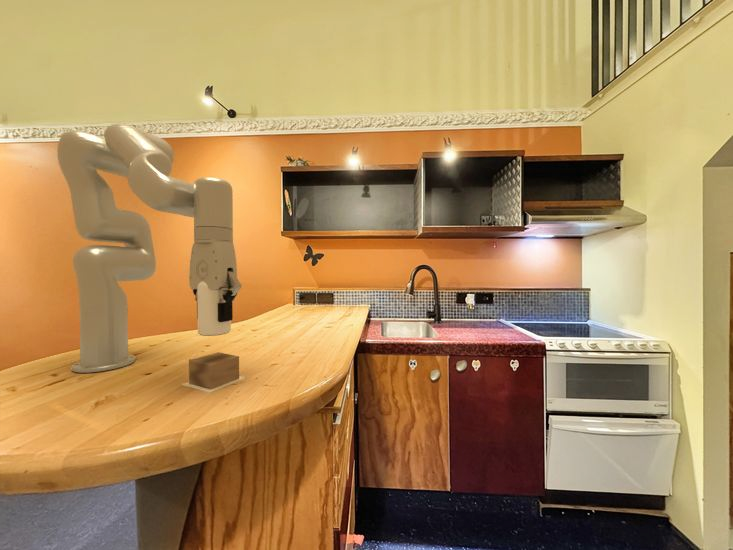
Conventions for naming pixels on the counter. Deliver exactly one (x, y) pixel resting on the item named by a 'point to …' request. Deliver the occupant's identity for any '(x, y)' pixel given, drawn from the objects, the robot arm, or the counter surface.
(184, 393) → the counter surface
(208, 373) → the block
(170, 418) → the counter surface
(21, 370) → the counter surface
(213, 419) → the counter surface
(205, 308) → the can
